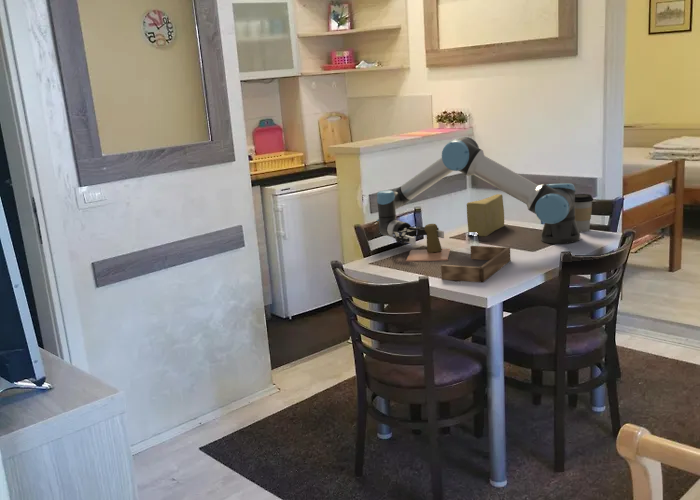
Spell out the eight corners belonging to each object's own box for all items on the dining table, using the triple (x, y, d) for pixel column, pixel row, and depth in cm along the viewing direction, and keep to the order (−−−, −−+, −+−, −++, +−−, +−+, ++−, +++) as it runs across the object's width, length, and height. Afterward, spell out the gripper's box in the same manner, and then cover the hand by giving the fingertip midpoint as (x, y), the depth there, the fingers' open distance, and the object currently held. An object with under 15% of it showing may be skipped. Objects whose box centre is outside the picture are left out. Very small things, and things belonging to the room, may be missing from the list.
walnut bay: (441, 279, 240) (440, 265, 239) (472, 258, 263) (471, 245, 262) (482, 282, 232) (482, 268, 231) (510, 260, 255) (510, 247, 254)
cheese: (493, 224, 316) (492, 192, 313) (512, 226, 310) (511, 193, 306) (467, 235, 301) (465, 201, 297) (486, 237, 294) (484, 203, 291)
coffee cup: (595, 232, 285) (594, 196, 281) (571, 233, 287) (570, 198, 284) (591, 227, 294) (591, 192, 290) (569, 228, 296) (568, 194, 292)
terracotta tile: (450, 249, 279) (450, 248, 278) (447, 260, 263) (447, 258, 263) (411, 251, 282) (411, 249, 282) (406, 261, 267) (406, 260, 267)
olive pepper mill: (429, 249, 280) (425, 223, 278) (443, 248, 278) (439, 221, 275) (425, 253, 274) (421, 226, 272) (439, 251, 272) (435, 224, 270)
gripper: (425, 233, 294) (455, 241, 276) (375, 244, 283) (403, 253, 265) (424, 216, 292) (454, 223, 274) (373, 226, 281) (401, 234, 263)
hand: (429, 238), depth 269 cm, fingers open, 13 cm apart
